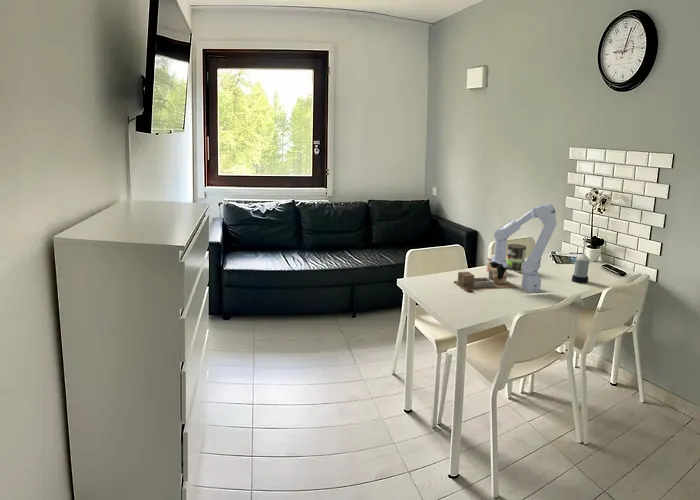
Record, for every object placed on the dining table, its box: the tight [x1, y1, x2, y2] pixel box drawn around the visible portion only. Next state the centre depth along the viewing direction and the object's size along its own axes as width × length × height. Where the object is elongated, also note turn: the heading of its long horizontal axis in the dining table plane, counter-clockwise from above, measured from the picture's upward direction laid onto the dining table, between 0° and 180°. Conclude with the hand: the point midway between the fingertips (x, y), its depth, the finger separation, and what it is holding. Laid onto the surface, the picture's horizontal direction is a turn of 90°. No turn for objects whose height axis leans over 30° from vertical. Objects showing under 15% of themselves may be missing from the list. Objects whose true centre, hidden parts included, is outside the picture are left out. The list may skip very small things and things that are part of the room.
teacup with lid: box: [486, 254, 494, 274], centre depth 300 cm, size 12×9×12 cm
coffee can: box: [505, 243, 527, 273], centre depth 310 cm, size 10×10×14 cm
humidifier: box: [571, 235, 590, 285], centre depth 289 cm, size 8×8×25 cm
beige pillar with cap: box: [488, 268, 508, 283], centre depth 282 cm, size 4×8×7 cm, turn 103°
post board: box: [453, 271, 519, 293], centre depth 277 cm, size 16×28×7 cm, turn 103°
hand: (497, 277), depth 283 cm, fingers open, 5 cm apart
